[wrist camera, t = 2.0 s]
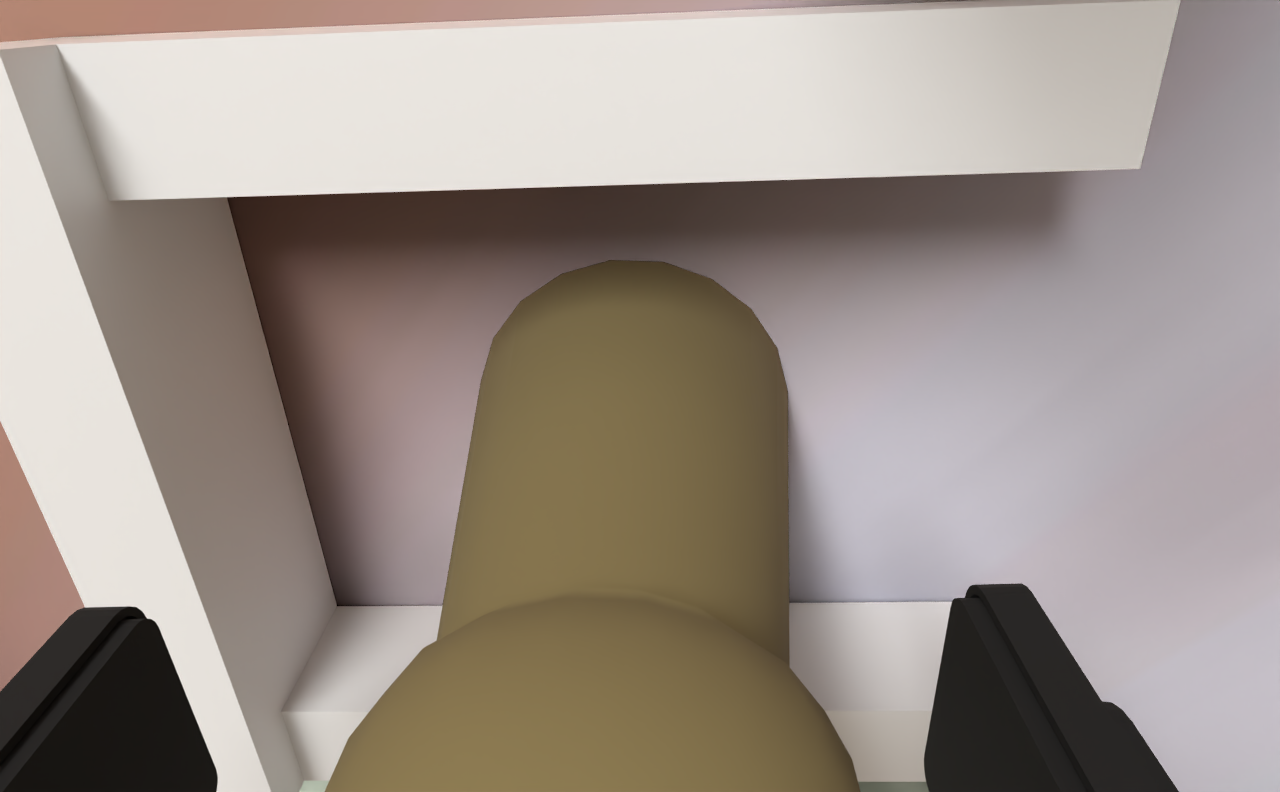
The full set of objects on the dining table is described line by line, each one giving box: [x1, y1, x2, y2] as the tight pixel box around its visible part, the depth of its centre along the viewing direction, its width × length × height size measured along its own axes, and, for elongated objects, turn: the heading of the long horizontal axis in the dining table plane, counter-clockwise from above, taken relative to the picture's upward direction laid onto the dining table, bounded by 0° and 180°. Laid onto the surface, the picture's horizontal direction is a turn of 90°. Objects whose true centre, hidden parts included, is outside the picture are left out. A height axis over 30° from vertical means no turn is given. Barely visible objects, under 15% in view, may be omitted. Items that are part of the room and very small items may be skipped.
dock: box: [0, 0, 1181, 792], centre depth 14 cm, size 16×14×4 cm
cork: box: [325, 260, 860, 792], centre depth 11 cm, size 6×6×11 cm
